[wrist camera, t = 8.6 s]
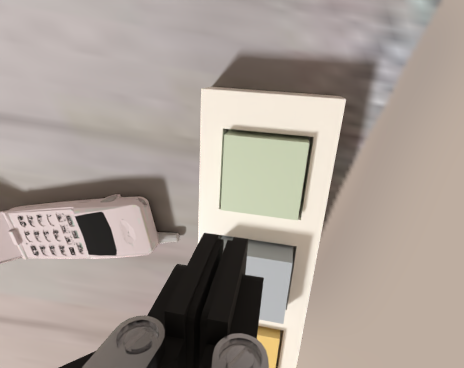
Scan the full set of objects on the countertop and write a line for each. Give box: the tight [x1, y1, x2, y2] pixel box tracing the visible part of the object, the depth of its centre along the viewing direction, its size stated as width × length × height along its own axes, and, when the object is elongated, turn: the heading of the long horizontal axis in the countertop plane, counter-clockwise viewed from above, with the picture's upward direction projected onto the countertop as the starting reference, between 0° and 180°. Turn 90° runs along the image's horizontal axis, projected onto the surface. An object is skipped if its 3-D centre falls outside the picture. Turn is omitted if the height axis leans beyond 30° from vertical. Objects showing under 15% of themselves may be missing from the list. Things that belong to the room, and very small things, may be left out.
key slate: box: [221, 235, 293, 324], centre depth 26 cm, size 6×6×2 cm
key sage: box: [221, 129, 309, 220], centre depth 24 cm, size 6×6×2 cm
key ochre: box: [257, 326, 280, 368], centre depth 30 cm, size 6×6×2 cm
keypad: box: [198, 87, 346, 368], centre depth 28 cm, size 30×10×3 cm, turn 177°
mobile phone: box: [0, 194, 179, 264], centre depth 30 cm, size 6×6×25 cm
